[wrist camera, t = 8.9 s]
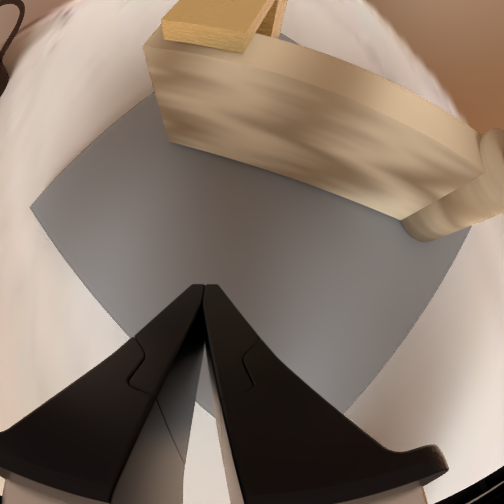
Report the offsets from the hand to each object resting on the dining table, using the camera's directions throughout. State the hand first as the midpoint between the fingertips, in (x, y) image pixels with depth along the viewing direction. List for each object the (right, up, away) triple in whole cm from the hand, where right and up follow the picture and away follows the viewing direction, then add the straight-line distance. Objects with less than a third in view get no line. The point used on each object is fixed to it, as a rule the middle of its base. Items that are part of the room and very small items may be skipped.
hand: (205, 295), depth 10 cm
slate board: (+3, +4, +9) cm, 10 cm away
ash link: (+5, +6, +8) cm, 11 cm away
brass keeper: (0, +10, +10) cm, 14 cm away
